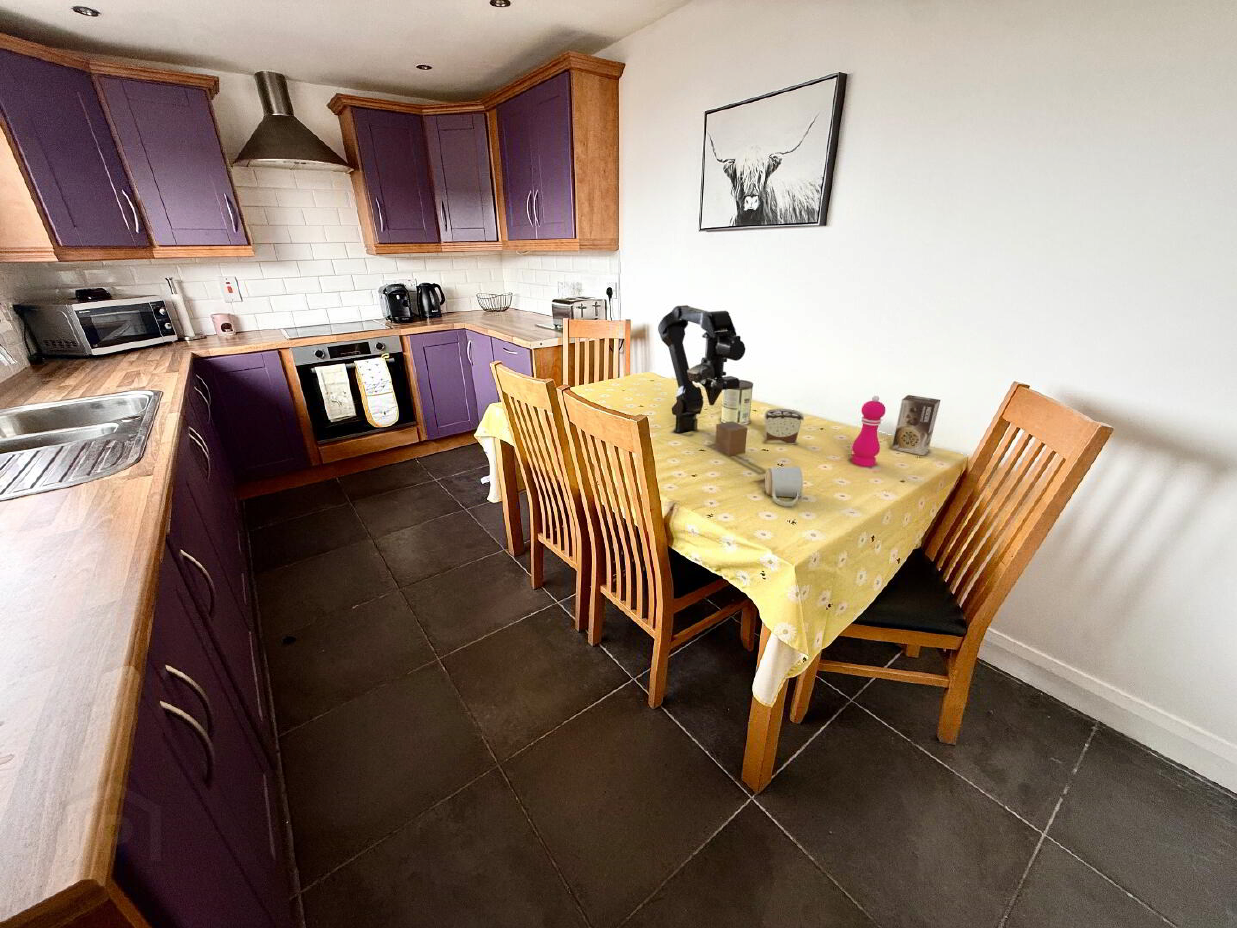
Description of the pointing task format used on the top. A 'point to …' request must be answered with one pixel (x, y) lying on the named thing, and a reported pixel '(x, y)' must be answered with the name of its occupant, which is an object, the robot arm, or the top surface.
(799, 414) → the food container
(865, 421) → the pepper mill
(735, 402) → the coffee can
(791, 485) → the ceramic mug
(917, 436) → the coffee box
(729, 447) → the walnut slider
